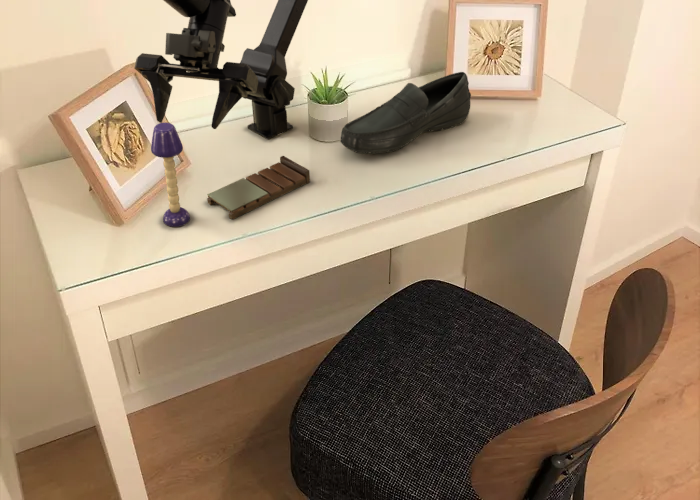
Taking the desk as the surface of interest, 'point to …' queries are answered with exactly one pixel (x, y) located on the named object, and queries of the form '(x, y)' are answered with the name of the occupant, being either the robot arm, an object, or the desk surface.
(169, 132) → the toy lamp
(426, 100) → the loafer
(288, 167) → the toy bed
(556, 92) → the desk surface
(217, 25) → the robot arm
